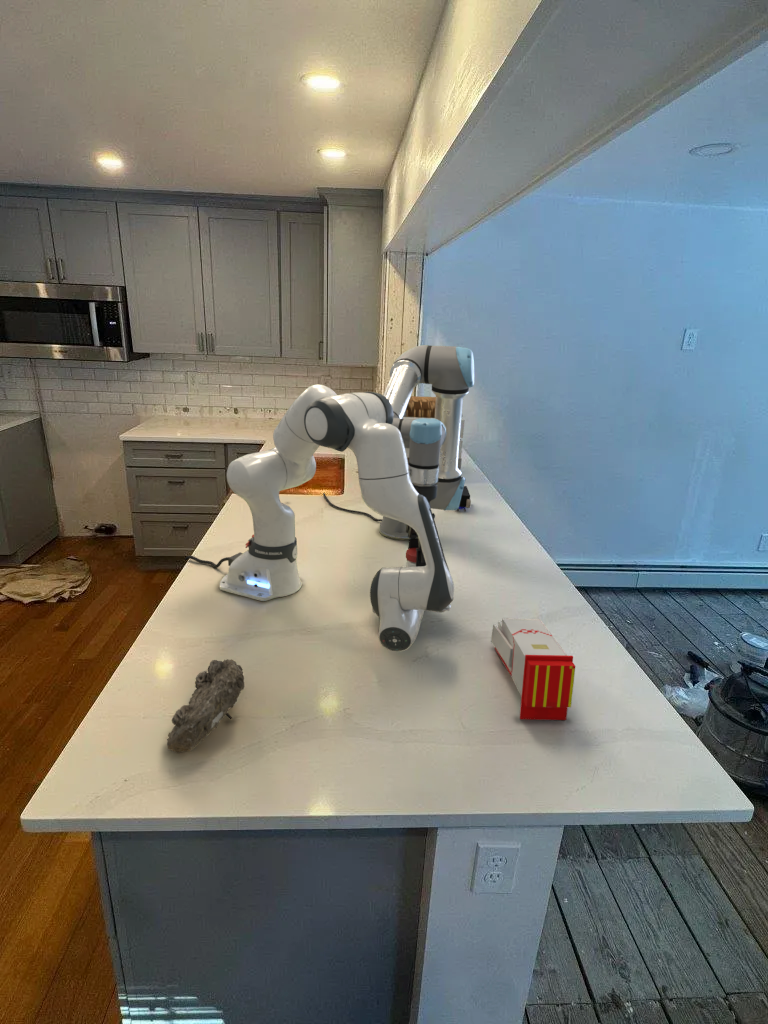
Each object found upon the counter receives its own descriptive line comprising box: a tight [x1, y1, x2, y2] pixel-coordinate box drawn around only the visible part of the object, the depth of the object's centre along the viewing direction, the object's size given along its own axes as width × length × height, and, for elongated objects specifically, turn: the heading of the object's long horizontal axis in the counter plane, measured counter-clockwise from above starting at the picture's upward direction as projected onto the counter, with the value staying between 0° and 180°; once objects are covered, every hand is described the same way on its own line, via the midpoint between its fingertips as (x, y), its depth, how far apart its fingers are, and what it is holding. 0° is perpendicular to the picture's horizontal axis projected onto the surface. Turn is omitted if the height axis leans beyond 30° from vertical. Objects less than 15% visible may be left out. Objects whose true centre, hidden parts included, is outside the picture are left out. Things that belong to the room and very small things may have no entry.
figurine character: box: [456, 485, 472, 513], centre depth 228 cm, size 7×8×15 cm
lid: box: [405, 548, 417, 563], centre depth 147 cm, size 6×6×2 cm
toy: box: [490, 617, 576, 721], centre depth 122 cm, size 12×13×30 cm
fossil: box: [166, 658, 245, 754], centre depth 106 cm, size 22×10×15 cm
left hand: (415, 581), depth 151 cm, fingers closed on jar, 5 cm apart
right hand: (416, 566), depth 148 cm, fingers closed on lid, 6 cm apart
